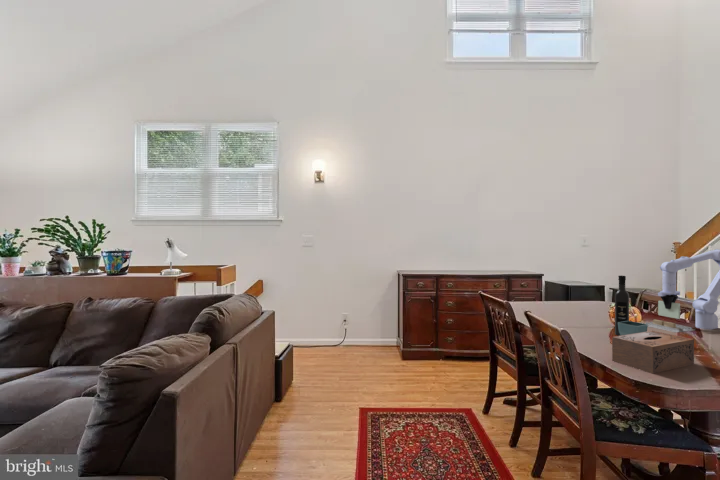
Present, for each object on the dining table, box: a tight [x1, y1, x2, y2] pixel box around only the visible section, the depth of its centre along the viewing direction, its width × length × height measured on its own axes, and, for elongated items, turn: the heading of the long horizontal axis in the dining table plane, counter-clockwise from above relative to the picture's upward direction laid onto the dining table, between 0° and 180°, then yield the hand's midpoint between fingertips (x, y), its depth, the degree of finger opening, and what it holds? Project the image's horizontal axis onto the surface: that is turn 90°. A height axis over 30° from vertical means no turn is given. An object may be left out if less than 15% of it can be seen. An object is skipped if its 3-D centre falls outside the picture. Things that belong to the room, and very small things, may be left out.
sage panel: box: [657, 300, 681, 320], centre depth 200 cm, size 1×10×8 cm, turn 18°
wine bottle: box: [614, 275, 630, 336], centre depth 186 cm, size 6×6×30 cm
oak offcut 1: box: [652, 319, 665, 326], centre depth 198 cm, size 2×4×4 cm, turn 18°
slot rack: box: [645, 321, 694, 333], centre depth 196 cm, size 15×16×2 cm
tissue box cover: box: [611, 330, 695, 374], centre depth 145 cm, size 26×14×10 cm, turn 112°
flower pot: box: [618, 320, 648, 336], centre depth 173 cm, size 9×9×9 cm
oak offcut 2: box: [664, 321, 677, 328], centre depth 193 cm, size 2×4×4 cm, turn 18°
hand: (669, 308), depth 200 cm, fingers closed on sage panel, 1 cm apart
